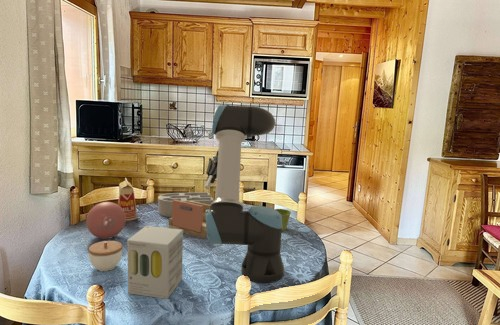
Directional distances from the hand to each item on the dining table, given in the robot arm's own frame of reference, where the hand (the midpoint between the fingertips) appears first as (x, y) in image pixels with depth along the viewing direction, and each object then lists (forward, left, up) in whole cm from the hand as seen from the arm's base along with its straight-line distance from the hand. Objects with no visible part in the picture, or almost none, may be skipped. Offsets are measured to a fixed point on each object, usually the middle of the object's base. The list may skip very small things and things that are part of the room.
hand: (206, 187), depth 168 cm
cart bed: (-8, -1, -18) cm, 20 cm away
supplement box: (-57, -21, -18) cm, 64 cm away
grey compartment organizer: (+9, +19, -19) cm, 28 cm away
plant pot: (+15, -34, -18) cm, 41 cm away
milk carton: (-16, +36, -18) cm, 44 cm away
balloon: (-40, +22, -18) cm, 50 cm away
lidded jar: (-57, +2, -18) cm, 60 cm away
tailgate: (-16, -1, -16) cm, 23 cm away
